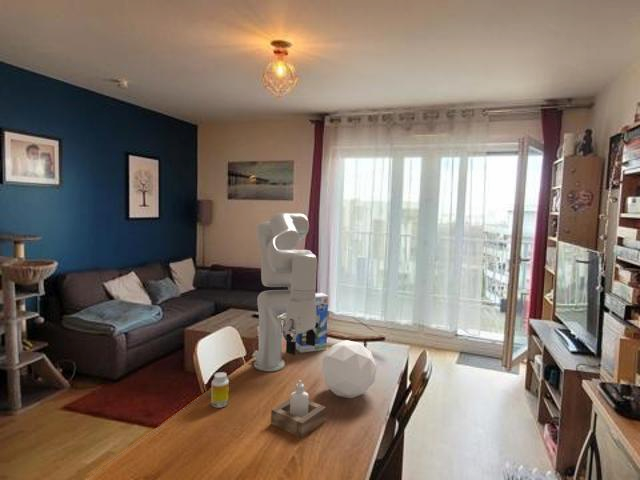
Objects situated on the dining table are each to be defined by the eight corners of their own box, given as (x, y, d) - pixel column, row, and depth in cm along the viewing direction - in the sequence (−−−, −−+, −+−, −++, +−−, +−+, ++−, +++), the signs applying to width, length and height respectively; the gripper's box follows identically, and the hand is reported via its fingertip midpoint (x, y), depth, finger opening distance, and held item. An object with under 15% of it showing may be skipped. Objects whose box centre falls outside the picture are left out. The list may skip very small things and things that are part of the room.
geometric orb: (358, 417, 141) (376, 389, 128) (307, 391, 144) (319, 361, 131) (373, 374, 155) (390, 345, 142) (326, 351, 158) (339, 321, 145)
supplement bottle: (230, 406, 131) (230, 376, 130) (213, 409, 129) (213, 379, 128) (226, 398, 136) (226, 370, 135) (209, 401, 134) (210, 372, 133)
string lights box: (300, 353, 181) (302, 297, 178) (294, 347, 187) (296, 293, 185) (326, 349, 186) (328, 295, 184) (319, 344, 193) (322, 292, 191)
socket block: (270, 423, 122) (271, 409, 122) (295, 408, 132) (296, 395, 131) (301, 438, 115) (302, 423, 115) (325, 420, 125) (326, 407, 125)
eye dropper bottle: (294, 412, 127) (295, 376, 126) (310, 417, 124) (311, 380, 123) (287, 418, 123) (288, 381, 122) (303, 423, 121) (304, 385, 119)
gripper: (310, 287, 129) (308, 339, 131) (274, 296, 115) (272, 354, 117) (329, 291, 125) (327, 344, 127) (294, 301, 111) (292, 360, 113)
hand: (300, 349), depth 122 cm, fingers open, 9 cm apart
